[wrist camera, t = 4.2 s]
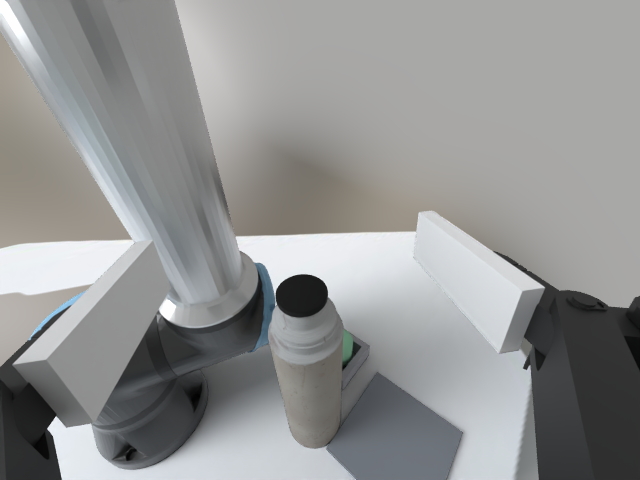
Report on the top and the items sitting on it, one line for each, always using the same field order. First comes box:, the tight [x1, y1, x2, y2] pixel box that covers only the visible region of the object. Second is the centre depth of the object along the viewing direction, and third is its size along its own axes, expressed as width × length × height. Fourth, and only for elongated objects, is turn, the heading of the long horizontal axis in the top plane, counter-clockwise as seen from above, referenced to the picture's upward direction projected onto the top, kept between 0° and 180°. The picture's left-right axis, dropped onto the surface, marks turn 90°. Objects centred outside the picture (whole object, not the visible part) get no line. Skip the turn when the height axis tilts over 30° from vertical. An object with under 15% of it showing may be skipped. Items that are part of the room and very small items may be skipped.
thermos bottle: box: [268, 274, 343, 448], centre depth 33 cm, size 8×8×28 cm
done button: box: [342, 329, 353, 367], centre depth 47 cm, size 5×5×4 cm
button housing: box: [341, 329, 370, 390], centre depth 48 cm, size 8×8×3 cm
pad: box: [326, 372, 463, 480], centre depth 38 cm, size 14×14×1 cm
